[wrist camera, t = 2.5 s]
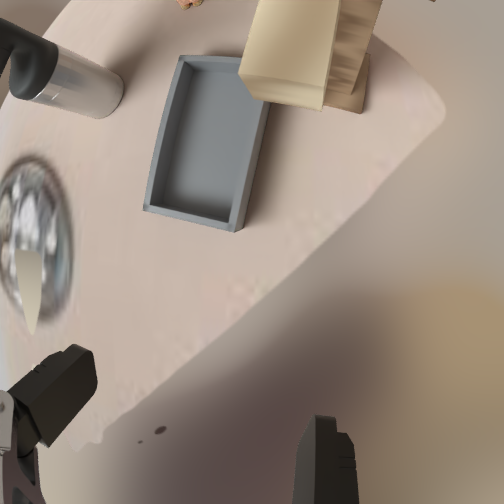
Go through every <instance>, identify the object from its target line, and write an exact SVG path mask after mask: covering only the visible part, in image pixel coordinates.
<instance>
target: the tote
mask: <svg viewBox="0 0 504 504" xmlns="http://www.w3.org/2000/svg"><path fill="white" fill-rule="evenodd" d="M241 60H242V58H238V57H224V56H200V55H180V57H179V60H178V63H177V66H176V69H175V72H174V76H173V79H172V82H171V86H170V89H169V93H168V96H167V100H166V104H165V107H164V111H163V115H162V119H161V123H160V127H159V131H158V135H157V139H156V144H155V148H154V153H153V157H152V162H151V167H150V172H149V177H148V182H147V188H146V193H145V199H144V205H143V211H147V212H151V213H155V214H159V215H164V216H168V217H172V218H176V219H180V220H184V221H188V222H193V223H197V224H201V225H205V226H209V227H213V228H217V229H221V230H225V231H229V232H233V233H234V232H237V231H239V230H241V229H243V225H244V220H245V216H246V211H247V207H248V202H249V198H250V193H251V189H252V184H253V180H254V175H255V171H256V166H257V162H258V157H259V153H260V149H261V144H262V140H263V135H264V131H265V127H266V122H267V118H268V114H269V109H270V105H271V102H268V101H262V100H255V99H253V97H252V95H251V94H250V92H249V91H248V89H247V87H246V86H245V84H244V82H243V81H242V79H241V78H240V76H239V75H238V71H239V67H240V64H241Z"/></svg>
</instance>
